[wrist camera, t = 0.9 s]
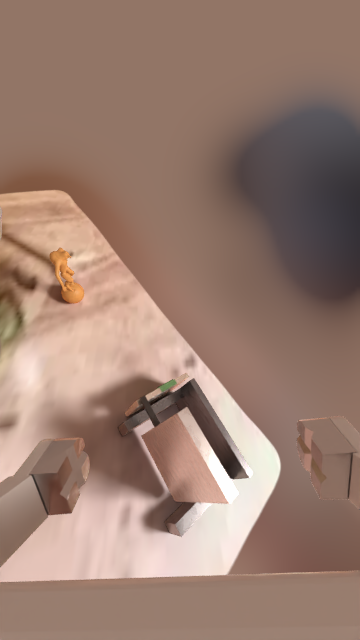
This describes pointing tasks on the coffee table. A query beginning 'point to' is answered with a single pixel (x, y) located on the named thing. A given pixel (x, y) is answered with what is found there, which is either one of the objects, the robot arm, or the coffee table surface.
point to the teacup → (0, 223)
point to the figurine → (66, 277)
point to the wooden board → (187, 459)
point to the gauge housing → (210, 428)
